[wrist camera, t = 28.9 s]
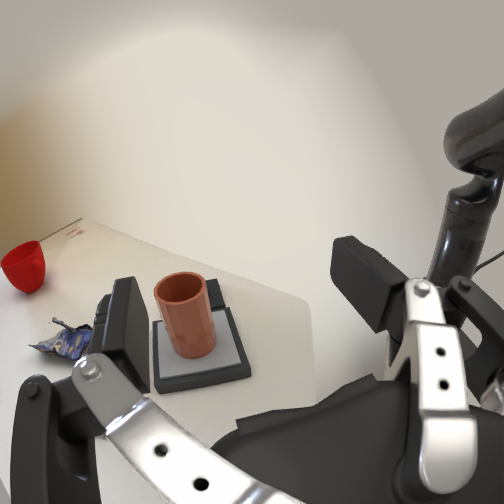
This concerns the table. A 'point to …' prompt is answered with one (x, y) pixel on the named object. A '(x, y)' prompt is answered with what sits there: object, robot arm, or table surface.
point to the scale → (205, 368)
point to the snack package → (67, 341)
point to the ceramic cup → (25, 266)
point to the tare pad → (214, 295)
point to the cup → (186, 314)
